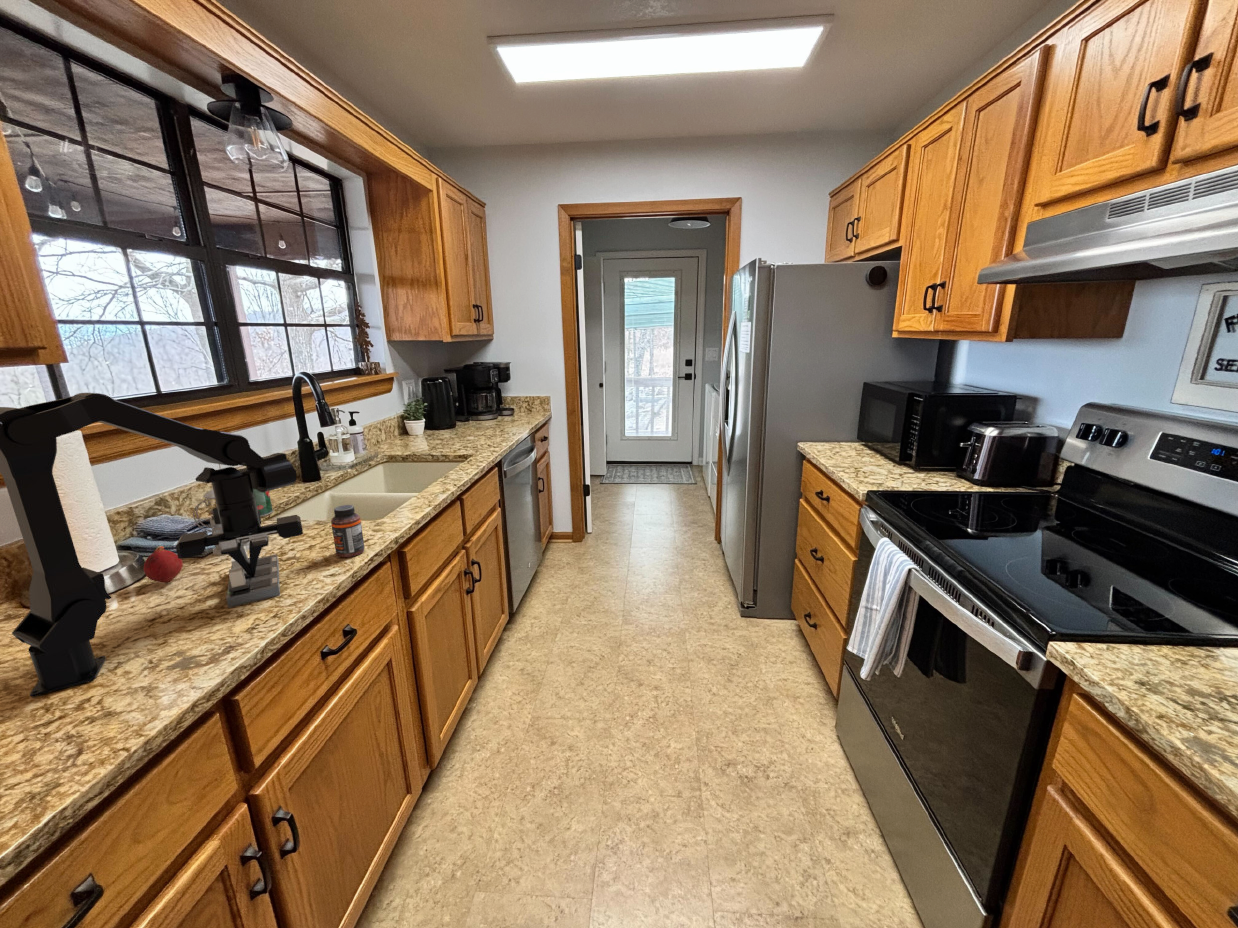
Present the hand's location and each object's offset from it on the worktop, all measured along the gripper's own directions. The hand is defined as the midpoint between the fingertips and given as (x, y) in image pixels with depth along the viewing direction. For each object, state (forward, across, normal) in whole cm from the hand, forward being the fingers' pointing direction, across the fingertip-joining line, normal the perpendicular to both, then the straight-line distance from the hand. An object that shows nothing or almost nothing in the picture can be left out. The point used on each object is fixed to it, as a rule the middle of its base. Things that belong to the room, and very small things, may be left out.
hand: (252, 576), depth 95 cm
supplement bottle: (+4, -18, -11) cm, 21 cm away
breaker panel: (+4, 0, -6) cm, 7 cm away
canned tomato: (+4, +1, -58) cm, 58 cm away
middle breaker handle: (+2, +2, -6) cm, 7 cm away
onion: (+4, +15, -17) cm, 23 cm away
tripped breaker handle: (+1, +2, 0) cm, 3 cm away
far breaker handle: (+2, +2, -12) cm, 12 cm away
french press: (+4, +5, -32) cm, 33 cm away
